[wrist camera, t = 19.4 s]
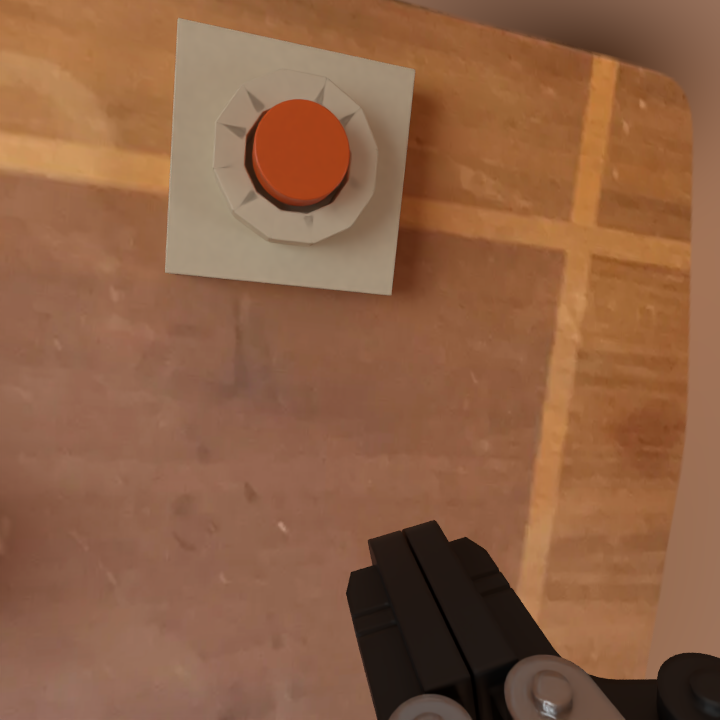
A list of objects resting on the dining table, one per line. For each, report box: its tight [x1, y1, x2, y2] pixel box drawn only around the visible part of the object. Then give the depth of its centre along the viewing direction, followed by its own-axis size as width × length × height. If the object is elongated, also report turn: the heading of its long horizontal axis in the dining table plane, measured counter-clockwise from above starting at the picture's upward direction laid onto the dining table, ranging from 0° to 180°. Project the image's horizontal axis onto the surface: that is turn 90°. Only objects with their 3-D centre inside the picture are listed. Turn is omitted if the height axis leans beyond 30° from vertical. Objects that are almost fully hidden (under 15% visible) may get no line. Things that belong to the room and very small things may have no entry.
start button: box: [252, 99, 350, 206], centre depth 20 cm, size 4×4×2 cm
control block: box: [165, 18, 415, 295], centre depth 22 cm, size 10×10×4 cm
